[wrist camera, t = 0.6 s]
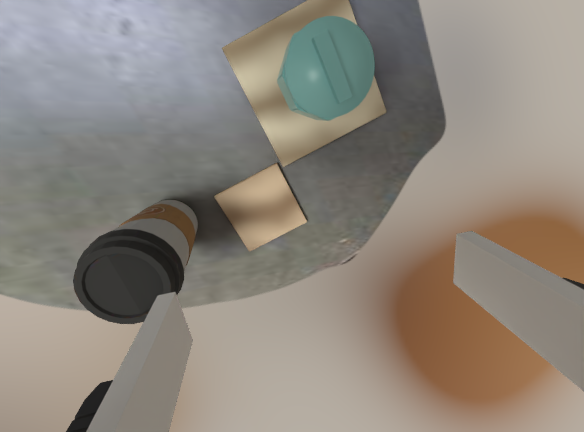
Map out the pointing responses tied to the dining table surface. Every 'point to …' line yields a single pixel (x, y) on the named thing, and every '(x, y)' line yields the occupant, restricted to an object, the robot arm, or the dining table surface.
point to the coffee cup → (136, 263)
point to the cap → (326, 68)
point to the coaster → (261, 207)
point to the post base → (268, 97)
